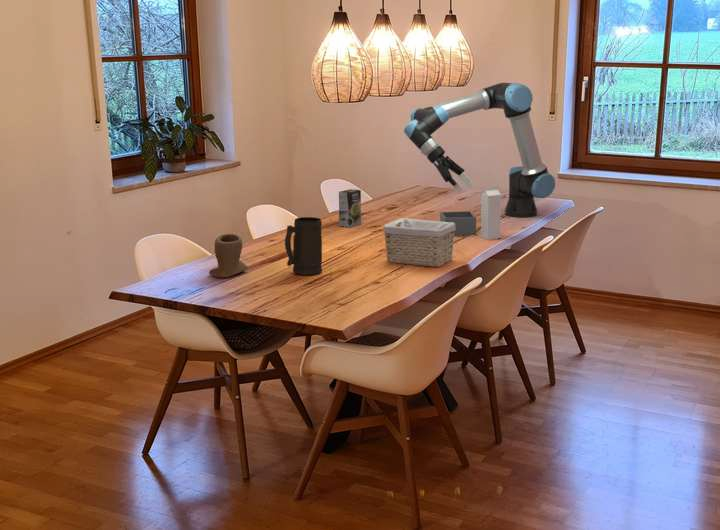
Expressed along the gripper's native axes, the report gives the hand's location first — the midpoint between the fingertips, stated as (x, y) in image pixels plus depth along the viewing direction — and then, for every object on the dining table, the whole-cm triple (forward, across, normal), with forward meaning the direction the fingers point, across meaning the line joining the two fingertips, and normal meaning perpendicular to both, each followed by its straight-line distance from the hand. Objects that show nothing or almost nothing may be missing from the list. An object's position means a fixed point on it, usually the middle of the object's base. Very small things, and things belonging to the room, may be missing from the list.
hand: (466, 188), depth 361 cm
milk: (+23, 0, -7) cm, 24 cm away
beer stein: (-11, +77, -41) cm, 88 cm away
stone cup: (-29, +88, -59) cm, 110 cm away
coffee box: (-25, -4, -55) cm, 60 cm away
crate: (+11, -5, -18) cm, 22 cm away
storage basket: (+12, +46, -18) cm, 51 cm away
